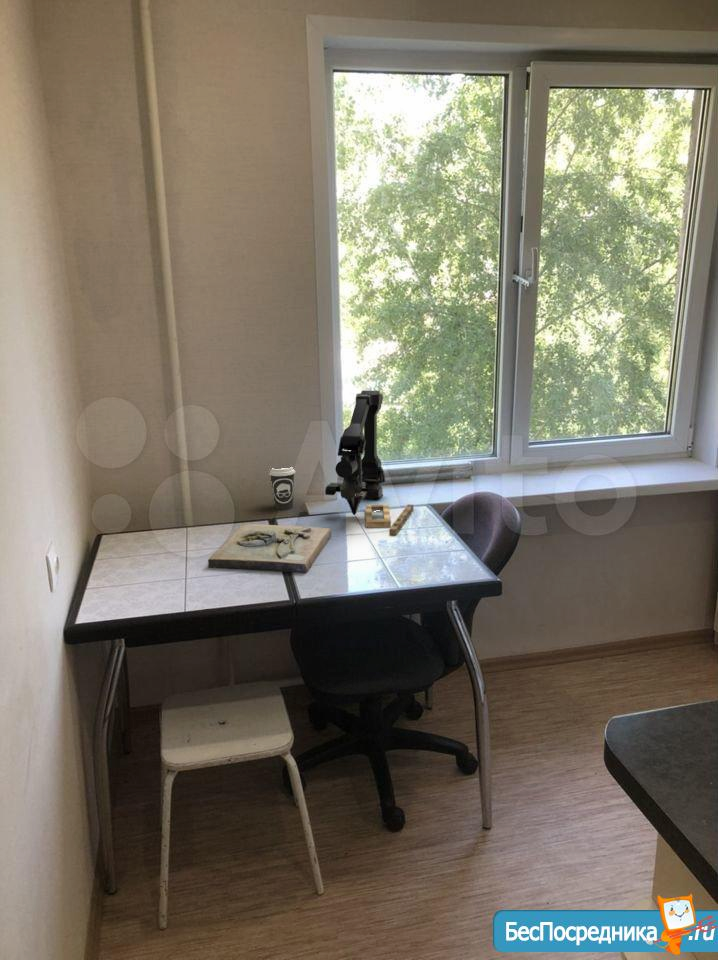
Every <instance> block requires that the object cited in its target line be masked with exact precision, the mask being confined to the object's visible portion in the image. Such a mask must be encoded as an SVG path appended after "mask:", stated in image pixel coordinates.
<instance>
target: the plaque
mask: <svg viewBox="0 0 718 960" xmlns="http://www.w3.org/2000/svg"><path fill="white" fill-rule="evenodd" d="M330 537H331V538H332V530H331V528H329V527H318V526H317V527H315V526H302V525H301V526H299V525H297V526H296V525H279V524H278V525H276V524H275V525H274V524H258V523H256V524H255V523H252V524H250V523H249V524H242V525H241V526H240V527H238V529H236V531H234V532H233V533H232V534H231V536H229V537H228V539H227V540H226V541H225V542H224V543H223V544H222V545H221V546H220V547H219V548H218V549H217V550H216V551H215V552H214V553H213V554H211V556H210V557H209V558H208V559H207V565H208V566H207V568H208V569H226V570H241V571H261V572H262V571H264V572H276V573H277V572H281V573H296V574H297V573H299V574H308V572H309V570H310V569H312V566H313V565H314V563H315V562H316V559H317V558H318V556H320V553H322V551H323V550H324V548H325V547H326V545H328V542H329V541H328V540H331V538H330Z"/></svg>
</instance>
